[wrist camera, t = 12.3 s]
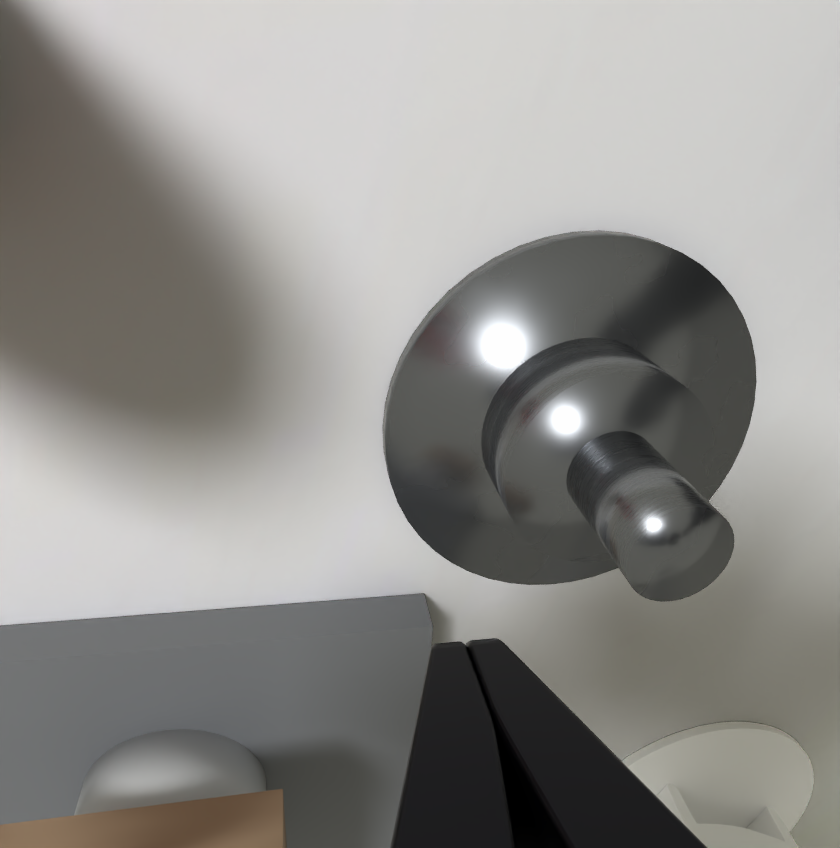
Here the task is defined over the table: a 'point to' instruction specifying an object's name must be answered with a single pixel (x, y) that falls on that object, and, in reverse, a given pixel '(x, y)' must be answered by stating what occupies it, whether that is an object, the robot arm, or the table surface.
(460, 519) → the stand
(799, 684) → the table surface
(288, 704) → the board
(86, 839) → the wooden square frame
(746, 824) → the panda figurine
